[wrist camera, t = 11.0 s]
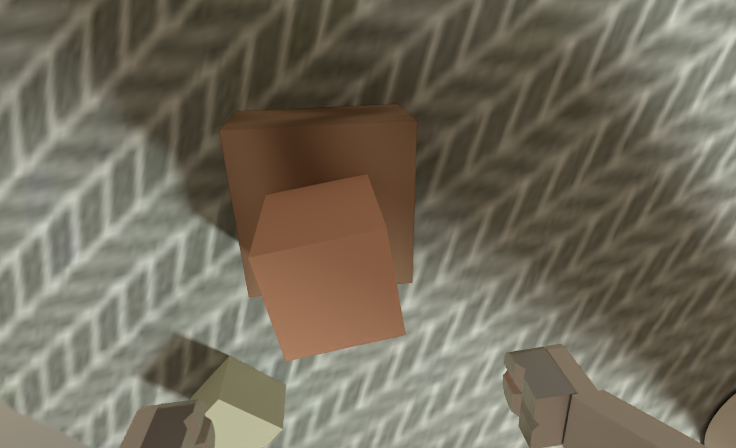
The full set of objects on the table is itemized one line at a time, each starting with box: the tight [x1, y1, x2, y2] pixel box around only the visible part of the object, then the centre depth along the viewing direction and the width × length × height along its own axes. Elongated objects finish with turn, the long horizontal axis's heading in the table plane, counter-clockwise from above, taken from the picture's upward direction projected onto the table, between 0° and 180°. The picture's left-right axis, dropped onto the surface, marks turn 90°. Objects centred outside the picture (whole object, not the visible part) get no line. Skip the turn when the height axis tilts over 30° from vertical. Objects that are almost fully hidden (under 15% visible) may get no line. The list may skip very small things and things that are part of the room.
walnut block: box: [219, 104, 417, 297], centre depth 23 cm, size 9×9×5 cm
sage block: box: [190, 356, 286, 448], centre depth 30 cm, size 5×5×4 cm
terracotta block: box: [248, 174, 406, 361], centre depth 18 cm, size 5×5×6 cm
